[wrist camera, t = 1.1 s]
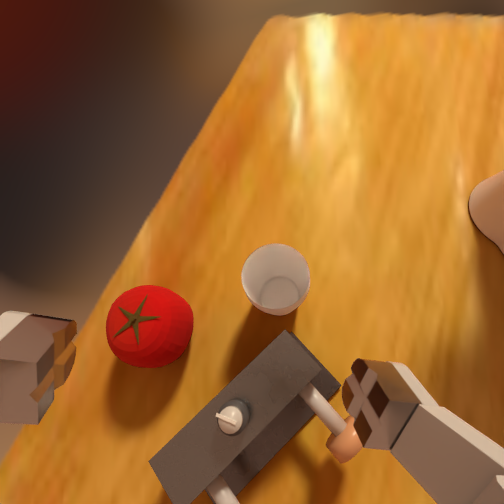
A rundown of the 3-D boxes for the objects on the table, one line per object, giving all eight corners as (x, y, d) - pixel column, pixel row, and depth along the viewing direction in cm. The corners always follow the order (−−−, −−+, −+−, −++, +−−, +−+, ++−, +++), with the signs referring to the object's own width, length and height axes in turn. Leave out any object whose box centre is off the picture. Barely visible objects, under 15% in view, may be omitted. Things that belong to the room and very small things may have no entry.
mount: (340, 384, 41) (355, 391, 31) (221, 510, 38) (194, 563, 28) (291, 332, 45) (290, 323, 35) (178, 442, 42) (141, 468, 32)
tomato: (217, 336, 46) (191, 327, 35) (157, 384, 45) (110, 391, 33) (178, 280, 51) (144, 255, 39) (123, 321, 50) (71, 309, 38)
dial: (254, 405, 32) (249, 409, 29) (244, 436, 31) (238, 444, 28) (228, 394, 33) (220, 397, 30) (218, 424, 32) (209, 431, 29)
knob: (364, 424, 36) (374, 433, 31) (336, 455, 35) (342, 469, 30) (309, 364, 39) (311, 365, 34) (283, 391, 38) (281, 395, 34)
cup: (310, 321, 45) (315, 307, 34) (254, 325, 46) (241, 313, 35) (303, 267, 49) (306, 238, 38) (251, 272, 50) (238, 246, 39)
